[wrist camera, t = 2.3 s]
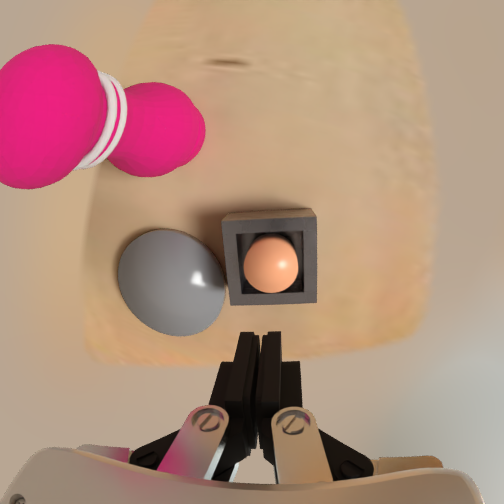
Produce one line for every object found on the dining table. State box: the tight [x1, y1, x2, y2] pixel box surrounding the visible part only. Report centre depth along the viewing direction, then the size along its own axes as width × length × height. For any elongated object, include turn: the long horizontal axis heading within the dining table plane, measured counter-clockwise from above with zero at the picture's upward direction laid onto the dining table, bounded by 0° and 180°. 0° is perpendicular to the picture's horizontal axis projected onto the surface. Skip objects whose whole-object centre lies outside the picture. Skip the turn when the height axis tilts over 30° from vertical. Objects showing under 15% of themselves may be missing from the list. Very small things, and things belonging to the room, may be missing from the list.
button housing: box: [221, 209, 317, 305], centre depth 24 cm, size 7×7×4 cm
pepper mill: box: [0, 44, 205, 189], centre depth 13 cm, size 7×7×20 cm
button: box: [244, 234, 298, 293], centre depth 22 cm, size 4×4×2 cm
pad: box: [118, 229, 226, 336], centre depth 27 cm, size 11×11×1 cm
